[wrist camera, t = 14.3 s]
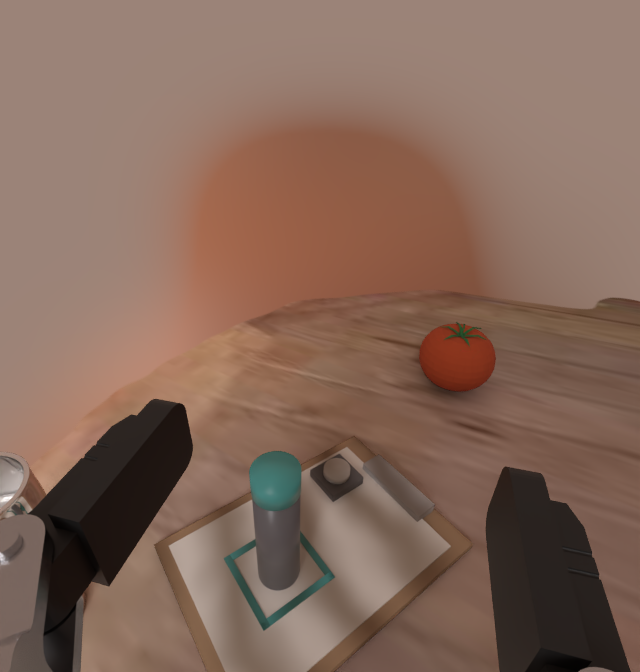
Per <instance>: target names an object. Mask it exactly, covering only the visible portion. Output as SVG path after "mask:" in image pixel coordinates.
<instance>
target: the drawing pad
mask: <svg viewBox="0 0 640 672" xmlns="http://www.w3.org/2000/svg"><path fill="white" fill-rule="evenodd" d="M434 506H435V504H434V503H433V502H432V501H430V500H429V499H428V498H427V497H426V496H425V495H424V494H423V493H422V492H420V491H419V490H418V489H417V488H416V487H415V486H414V485H413V484H412V483H410V482H409V481H408V480H407V479H406V478H405V477H404V476H403V475H402V474H400V473H399V472H398V471H397V470H396V469H395V468H394V467H393V466H392V465H390V464H389V463H388V462H387V461H386V460H385V459H384V458H383V457H382V456H380V455H377V456H376V455H375V454H374V453H373V452H371V451H370V450H369V449H368V448H367V447H366V446H365V445H364V444H363V443H362V442H360V441H359V440H358V439H357V438H356V437H355V436H353V437H351V438H350V439H348V440H346V441H344V442H342V443H340V444H338V445H337V446H335V447H333V448H331V449H329V450H327V451H326V452H324V453H322V454H320V455H318V456H316V457H315V458H313V459H311V460H309V461H307V462H305V463H304V464H302V465H301V494H300V571H299V575H298V578H297V580H296V581H295V583H294V584H293V585H291V586H290V587H289V588H287V589H284V590H279V591H276V590H271V589H269V588H267V587H265V586H264V585H263V584H262V582H261V581H260V579H259V575H258V565H257V553H256V541H255V528H254V516H253V503H252V496H251V492H250V493H248V494H246V495H245V496H243V497H241V498H239V499H237V500H235V501H234V502H232V503H230V504H228V505H226V506H224V507H223V508H221V509H219V510H217V511H215V512H213V513H211V514H210V515H208V516H206V517H204V518H202V519H200V520H199V521H197V522H195V523H193V524H191V525H189V526H188V527H186V528H184V529H182V530H180V531H178V532H177V533H175V534H173V535H171V536H169V537H167V538H165V539H164V540H162V541H160V542H158V543H156V544H154V546H155V549H156V551H157V554H158V556H159V558H160V561H161V563H162V566H163V568H164V570H165V573H166V575H167V577H168V580H169V582H170V584H171V587H172V589H173V592H174V594H175V596H176V599H177V601H178V603H179V606H180V608H181V611H182V613H183V615H184V618H185V620H186V622H187V625H188V627H189V630H190V632H191V634H192V637H193V639H194V641H195V644H196V646H197V649H198V651H199V653H200V656H201V658H202V660H203V663H204V665H205V667H206V670H207V672H334V671H335V670H336V669H338V668H339V667H340V666H341V665H342V664H343V663H344V662H345V661H346V660H347V659H349V658H350V657H351V656H352V655H353V654H354V653H355V652H356V651H357V650H359V649H360V648H361V647H362V646H363V645H364V644H365V643H366V642H367V641H369V640H370V639H371V638H372V637H373V636H374V635H375V634H376V633H377V632H378V631H380V630H381V629H382V628H383V627H384V626H385V625H386V624H387V623H388V622H390V621H391V620H392V619H393V618H394V617H395V616H396V615H397V614H398V613H399V612H401V611H402V610H403V609H404V608H405V607H406V606H407V605H408V604H409V603H411V602H412V601H413V600H414V599H415V598H416V597H417V596H418V595H419V594H420V593H422V592H423V591H424V590H425V589H426V588H427V587H428V586H429V585H430V584H432V583H433V582H434V581H435V580H436V579H437V578H438V577H439V576H440V575H442V574H443V573H444V572H445V571H446V570H447V569H448V568H449V567H450V566H451V565H453V564H454V563H455V562H456V561H457V560H458V559H459V558H460V557H461V556H463V555H464V554H465V553H466V552H467V551H468V550H469V549H470V548H471V547H472V544H473V543H471V542H470V541H469V540H468V539H467V538H466V537H465V536H464V535H463V534H462V533H460V532H459V531H458V530H457V529H456V528H455V527H454V526H453V525H452V524H451V523H449V522H448V521H447V520H446V519H445V518H444V517H443V516H442V515H441V514H440V513H439V512H437V511H436V510H435V509H434Z"/></svg>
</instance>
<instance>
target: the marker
mask: <svg viewBox="0 0 640 672" xmlns="http://www.w3.org/2000/svg"><path fill="white" fill-rule="evenodd" d="M249 475H250V488H251V496H252V503H253V516H254V528H255V541H256V553H257V565H258V575H259V579H260V581H261V582H262V584H263V585H264V586H265V587H267V588H269V589H271V590H276V591H279V590H284V589H287V588H289V587H290V586H291V585H293V584H294V583H295V581H296V580H297V578H298V575H299V571H300V494H301V465H300V463H299V461H298V460H297V459H296V458H295V457H294V456H293V455H291V454H289V453H286V452H282V451H272V452H268V453H265V454H263V455H261V456H259V457H258V458H257V459H256V460H255V461H254V462H253V463H252V465H251V467H250V471H249Z"/></svg>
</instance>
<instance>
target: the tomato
mask: <svg viewBox="0 0 640 672" xmlns="http://www.w3.org/2000/svg"><path fill="white" fill-rule="evenodd" d="M456 323H457V322H456ZM475 328H477V327H470V326H467V325H465V324H459V323H457V324H448V325H443V326H440V327H438V328H436V329H434V330H432V331H431V332H430V333H429V334H428V335H427V336H426V337H425V339H424V341H423V342H422V345H421V348H420V357H419V359H420V364H421V367H422V369H423V371H424V373H425V375H426V376H427V377H428V378H429V379H430V380H431V381H432V382H433V383H434V384H436V385H438V386H439V387H441V388H444V389H447V390H451V391H468V390H471V389H475V388H477V387H479V386H480V385H482V384H483V383H484V382H486V381H487V379H488V378H489V377H490V376H491V374H492V372H493V370H494V366H495V360H496V357H495V351H494V348H493V345H492V343H491V342H490V340H489V339H488V338H487V337H486V336H485V335H484V334H483V333H482V332H480V331H478V330H476V329H475ZM477 329H481V328H477Z"/></svg>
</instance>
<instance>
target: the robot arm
mask: <svg viewBox="0 0 640 672" xmlns="http://www.w3.org/2000/svg"><path fill="white" fill-rule="evenodd" d="M192 451H193V444H192V439H191V434H190V429H189V424H188V419H187V414H186V409H185V407H184V405H183V404H180V403H175V402H170V401H164V400H159V399H153V400H151V401H150V402H149V403H148V404H147V405H146V406H145V407H144V408H143V409H142V411H141V412H140V413H139V414H138V415H137V416H136V415H130V416H128V417H127V418H125V419H123V420H122V421H120V422H118V423H117V424H115V425H113V426H112V427H111V428H110V429H109V430H108V431H107V432H106V433H105V434H104V435H103V436H102V437H101V438H100V439H99V440H98V441H97V444H96V446H95V445H94V446H93V447H92V448H91V449H90V450H89V451H88V452H87V453H86V454H85V457H84V458H83V459H82V458H81V459H80V460H79V461H78V463H77V464H76V465H75V466H74V467H73V468H72V469H71V470H70V471H69V472H68V473H67V474H66V475H65V476H64V477H63V478H62V479H61V480H60V481H59V483H58V484H57V485H56V486H55V487H54V488H53V489H52V490H51V491H50V492H49V493H48V494H47V495H46V496H45V497H44V498H43V499H42V500H41V501H40V502H39V504H38V505H37V506H36V507H35V508H34V509H33V510H31V511H30V512H29V513H28V514H22V515H15V516H11V517H8V518H5V519H3V520H1V521H0V672H80V670H81V648H82V626H83V604H84V602H83V595H82V594H83V593H84V591H85V590H86V588H87V587H88V586H89V584H90V583H91V581H92V582H96V583H99V584H102V585H106V586H110V584H111V583H112V581H113V580H114V578H115V577H116V575H117V574H118V572H119V571H120V569H121V568H122V566H123V564H124V563H125V561H126V560H127V558H128V557H129V555H130V554H131V552H132V551H133V549H134V548H135V546H136V545H137V543H138V542H139V540H140V539H141V537H142V535H143V534H144V532H145V531H146V529H147V528H148V526H149V525H150V523H151V522H152V520H153V519H154V517H155V516H156V514H157V513H158V511H159V510H160V508H161V506H162V505H163V503H164V502H165V500H166V499H167V497H168V496H169V494H170V493H171V491H172V490H173V488H174V487H175V485H176V484H177V482H178V481H179V479H180V477H181V476H182V474H183V473H184V471H185V470H186V468H187V467H188V465H189V462H190V460H191V456H192ZM486 541H487V551H488V561H489V570H490V580H491V590H492V600H493V610H494V620H495V630H496V640H497V650H498V660H499V670H500V672H631V671H630V668H629V665H628V662H627V659H626V656H625V653H624V650H623V647H622V644H621V641H620V638H619V634H618V631H617V628H616V625H615V622H614V619H613V616H612V613H611V610H610V607H609V603H608V600H607V597H606V594H605V591H604V588H603V585H602V582H601V580H599V572H598V569H597V566H596V563H595V560H594V558H592V551H591V548H590V544H589V541H588V538H587V535H586V532H585V529H584V527H583V525H582V524H581V523H580V521H579V520H578V518H577V517H576V516H575V514H574V513H573V512H572V510H571V509H570V508H569V506H568V505H567V504H566V503H562V502H557V501H552V500H550V498H549V494H548V490H547V487H546V483H545V479H544V477H543V475H542V474H541V473H536V472H531V471H526V470H521V469H515V468H510V467H504V468H503V470H502V472H501V475H500V478H499V480H498V483H497V486H496V488H495V491H494V494H493V497H492V499H491V502H490V505H489V508H488V512H487V518H486Z"/></svg>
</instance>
